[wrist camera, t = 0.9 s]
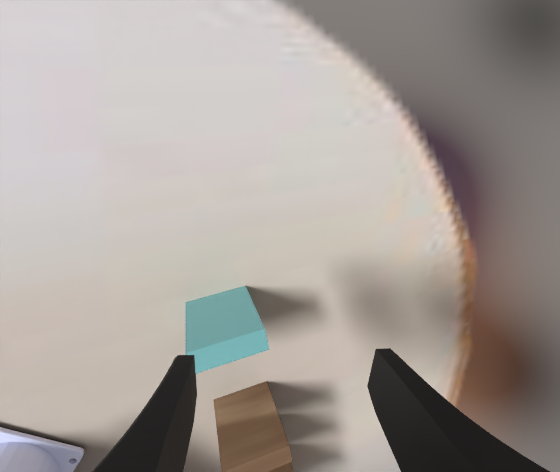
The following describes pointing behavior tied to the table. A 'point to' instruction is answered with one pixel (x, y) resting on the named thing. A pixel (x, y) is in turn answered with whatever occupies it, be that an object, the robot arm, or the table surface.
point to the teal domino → (223, 329)
